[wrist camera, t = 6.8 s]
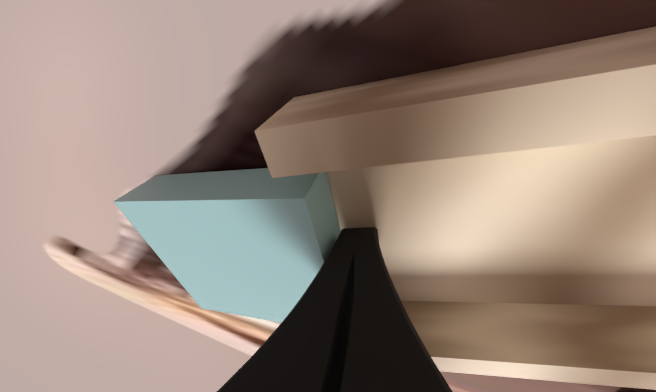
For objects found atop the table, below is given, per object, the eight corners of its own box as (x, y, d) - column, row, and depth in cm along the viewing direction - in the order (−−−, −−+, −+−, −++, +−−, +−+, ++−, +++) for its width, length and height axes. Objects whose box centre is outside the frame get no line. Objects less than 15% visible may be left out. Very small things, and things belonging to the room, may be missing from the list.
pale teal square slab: (324, 164, 8) (304, 198, 7) (355, 292, 12) (346, 334, 10) (156, 175, 11) (113, 201, 9) (223, 277, 15) (201, 308, 13)
